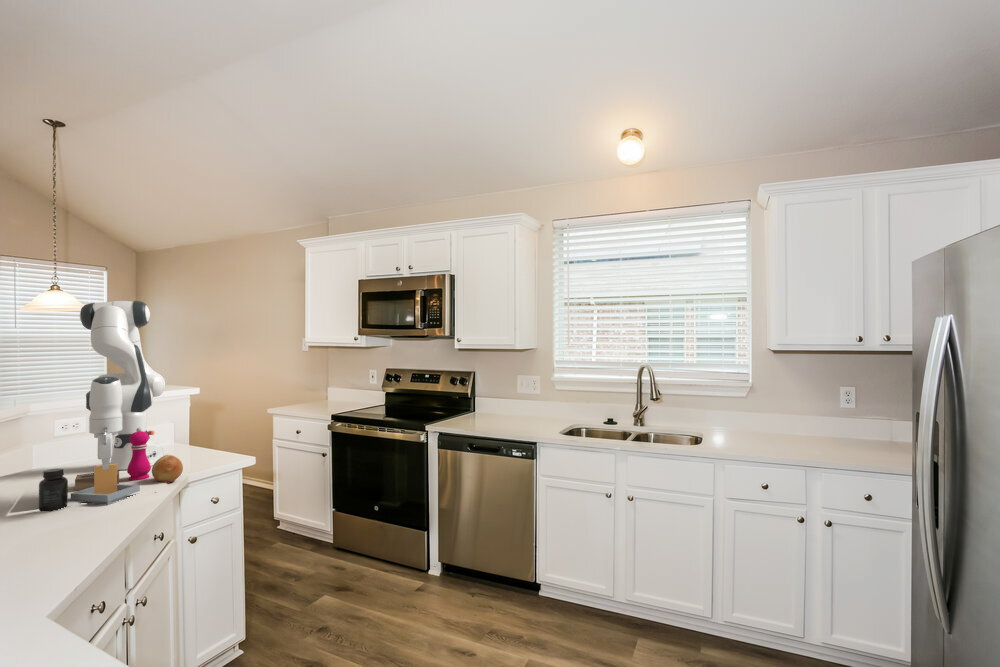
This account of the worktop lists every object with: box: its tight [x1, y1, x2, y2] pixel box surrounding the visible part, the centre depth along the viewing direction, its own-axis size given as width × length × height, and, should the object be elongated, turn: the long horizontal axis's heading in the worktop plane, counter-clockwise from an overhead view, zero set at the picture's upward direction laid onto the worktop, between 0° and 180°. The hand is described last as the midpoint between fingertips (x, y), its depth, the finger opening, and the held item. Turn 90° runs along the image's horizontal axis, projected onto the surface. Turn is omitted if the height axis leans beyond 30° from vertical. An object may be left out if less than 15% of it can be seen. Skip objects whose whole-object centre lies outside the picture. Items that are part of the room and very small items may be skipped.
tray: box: [70, 483, 141, 506], centre depth 172 cm, size 12×14×3 cm
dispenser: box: [74, 470, 120, 492], centre depth 183 cm, size 8×12×6 cm, turn 125°
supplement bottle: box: [38, 467, 69, 512], centre depth 162 cm, size 7×7×12 cm
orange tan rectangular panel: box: [93, 464, 117, 494], centre depth 172 cm, size 1×6×10 cm, turn 125°
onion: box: [151, 454, 184, 484], centre depth 191 cm, size 10×10×10 cm
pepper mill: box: [126, 427, 152, 482], centre depth 193 cm, size 7×7×20 cm
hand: (106, 467), depth 172 cm, fingers open, 2 cm apart
